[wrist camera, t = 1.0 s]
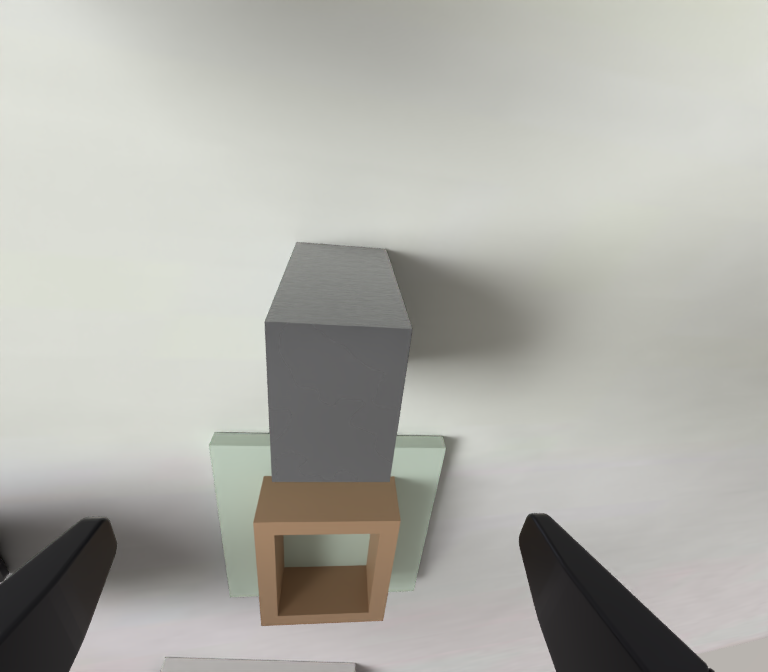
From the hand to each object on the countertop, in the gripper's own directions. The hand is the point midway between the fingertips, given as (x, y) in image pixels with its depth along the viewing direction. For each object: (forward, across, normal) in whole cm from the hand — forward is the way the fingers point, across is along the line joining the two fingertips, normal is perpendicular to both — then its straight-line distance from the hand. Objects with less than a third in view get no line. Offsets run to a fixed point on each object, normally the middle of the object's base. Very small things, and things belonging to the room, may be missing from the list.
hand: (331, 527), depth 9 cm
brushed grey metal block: (+12, 0, 0) cm, 12 cm away
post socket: (+12, 0, +15) cm, 19 cm away
